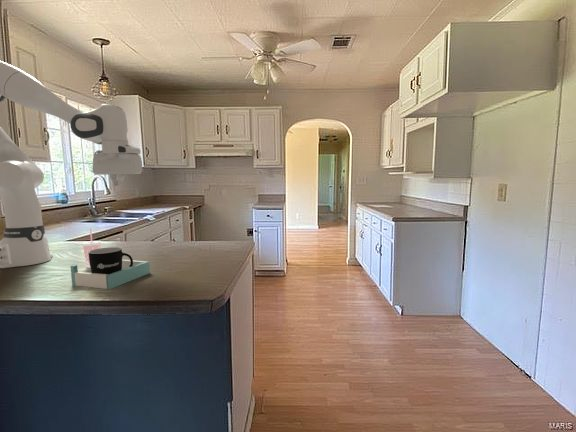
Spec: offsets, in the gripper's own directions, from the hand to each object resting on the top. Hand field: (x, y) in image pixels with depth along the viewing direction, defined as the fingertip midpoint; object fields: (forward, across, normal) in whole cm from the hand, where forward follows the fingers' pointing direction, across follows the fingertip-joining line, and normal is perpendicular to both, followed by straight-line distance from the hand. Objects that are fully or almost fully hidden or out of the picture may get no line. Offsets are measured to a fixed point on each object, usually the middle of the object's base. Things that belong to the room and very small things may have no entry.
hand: (118, 186), depth 123 cm
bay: (+29, +14, -19) cm, 37 cm away
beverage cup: (+29, -6, -8) cm, 31 cm away
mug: (+29, +16, -21) cm, 39 cm away
